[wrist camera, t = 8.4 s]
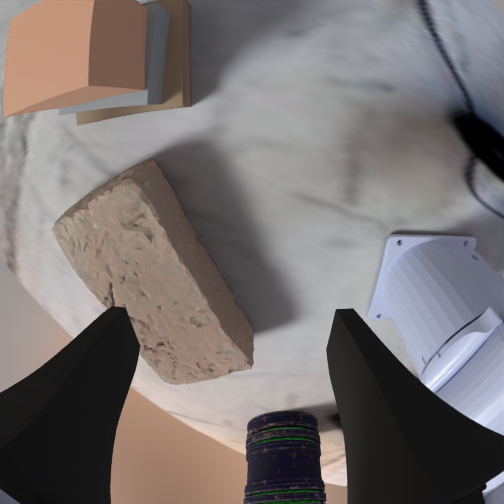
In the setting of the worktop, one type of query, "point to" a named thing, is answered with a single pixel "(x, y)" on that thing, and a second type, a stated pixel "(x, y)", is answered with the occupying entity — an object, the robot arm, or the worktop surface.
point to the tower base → (174, 72)
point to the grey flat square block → (153, 68)
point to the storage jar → (284, 459)
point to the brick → (157, 276)
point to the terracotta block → (74, 54)
